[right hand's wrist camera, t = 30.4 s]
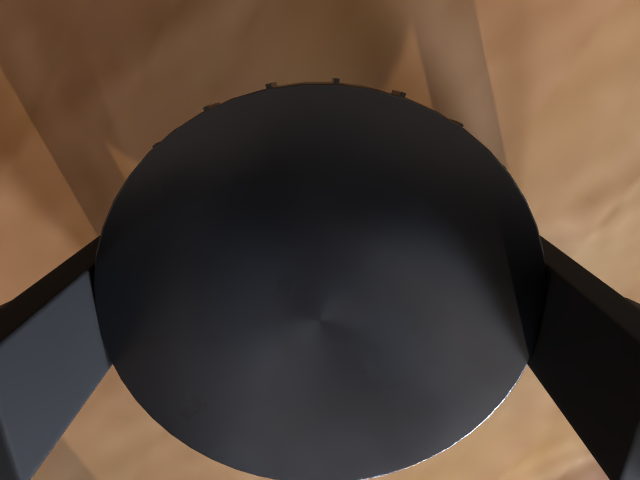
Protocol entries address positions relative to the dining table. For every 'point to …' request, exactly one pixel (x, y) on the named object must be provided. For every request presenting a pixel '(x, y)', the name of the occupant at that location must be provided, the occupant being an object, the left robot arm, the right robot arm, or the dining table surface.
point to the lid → (320, 282)
